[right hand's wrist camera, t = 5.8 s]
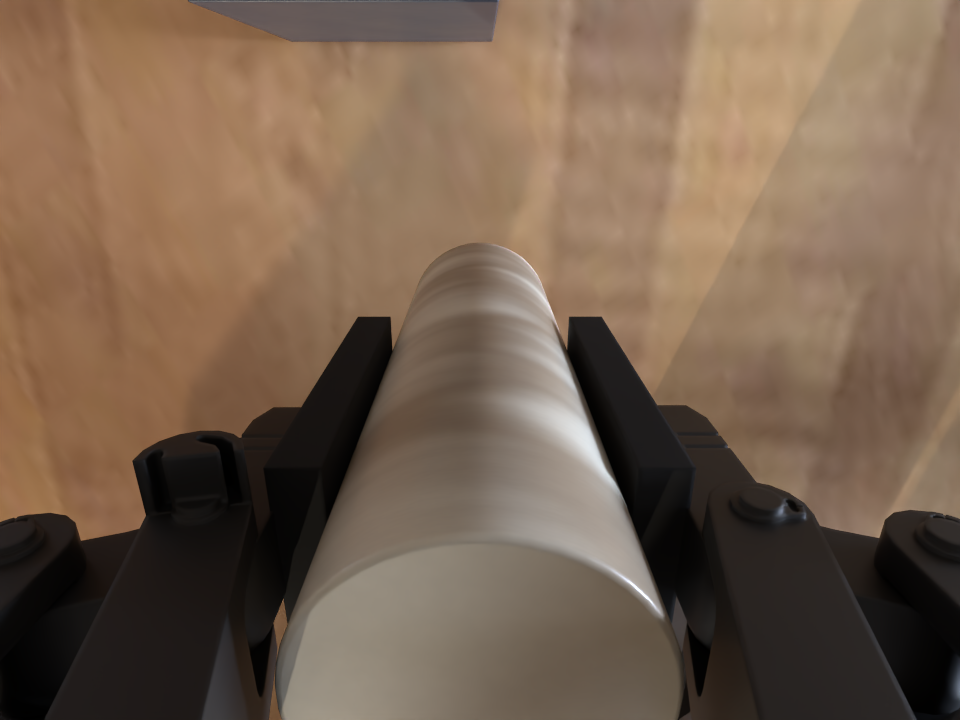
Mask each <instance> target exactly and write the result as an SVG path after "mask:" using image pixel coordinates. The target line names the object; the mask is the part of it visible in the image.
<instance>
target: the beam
mask: <svg viewBox="0 0 960 720" xmlns="http://www.w3.org/2000/svg"><path fill="white" fill-rule="evenodd" d="M188 1H189V2H191V3H193V4H196V5H198V6H201V7H204V8H206V9H209V10H211V11H214V12H217V13H219V14H222V15H224V16H227V17H230V18H232V19H235V20H237V21H240V22H243V23H245V24H248V25H250V26H253V27H256V28H258V29H261V30H263V31H266V32H268V33H271V34H274V35H276V36H279V37H281V38H284V39H287V40H289V41H292V42H491V41H492V40H493V34H494V28H495V21H496V15H497V9H498V3H499V0H188Z"/></svg>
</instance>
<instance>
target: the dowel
mask: <svg viewBox="0 0 960 720" xmlns="http://www.w3.org/2000/svg"><path fill="white" fill-rule="evenodd" d="M275 689H276V696H277V703H278V709H279V712H280V715H281V718H282V720H678V717H679V714H680V709H681V705H682V700H683V694H684V665H683V659H682V653H681V649H680V646H679V643H678V640H677V638H676V635H675V632H674V629H673V627H672V624H671V621H670V619H669V616H668V613H667V611H666V608H665V606H664V603H663V600H662V598H661V595H660V593H659V590H658V587H657V585H656V582H655V580H654V577H653V574H652V572H651V569H650V566H649V564H648V561H647V559H646V556H645V553H644V551H643V548H642V546H641V543H640V540H639V538H638V535H637V532H636V530H635V527H634V525H633V522H632V519H631V517H630V514H629V512H628V509H627V506H626V504H625V501H624V498H623V496H622V493H621V491H620V488H619V485H618V483H617V480H616V478H615V475H614V472H613V470H612V467H611V464H610V462H609V459H608V457H607V454H606V451H605V449H604V446H603V444H602V441H601V438H600V436H599V433H598V430H597V428H596V425H595V423H594V420H593V417H592V415H591V412H590V410H589V407H588V404H587V402H586V399H585V396H584V394H583V391H582V389H581V386H580V383H579V381H578V378H577V376H576V373H575V370H574V368H573V365H572V362H571V360H570V357H569V355H568V352H567V349H566V347H565V344H564V342H563V339H562V336H561V334H560V331H559V328H558V326H557V323H556V321H555V318H554V315H553V313H552V310H551V308H550V305H549V302H548V300H547V297H546V294H545V292H544V289H543V287H542V284H541V281H540V280H539V278H538V276H537V274H536V272H535V271H534V270H533V268H532V267H531V266H530V265H529V264H528V263H527V262H526V261H525V260H524V259H523V258H522V257H521V256H519V255H518V254H516V253H515V252H513V251H511V250H509V249H507V248H504V247H502V246H498V245H495V244H488V243H472V244H466V245H462V246H458V247H456V248H453V249H451V250H449V251H447V252H445V253H443V254H442V255H441V256H439V257H438V258H437V259H436V260H435V261H434V262H433V263H432V264H430V266H429V267H428V268H427V269H426V271H425V272H424V274H423V276H422V277H421V279H420V282H419V284H418V286H417V289H416V292H415V294H414V297H413V299H412V302H411V305H410V307H409V310H408V312H407V315H406V318H405V320H404V323H403V325H402V328H401V331H400V333H399V336H398V338H397V341H396V344H395V346H394V349H393V352H392V354H391V357H390V359H389V362H388V365H387V367H386V370H385V372H384V375H383V378H382V380H381V383H380V385H379V388H378V391H377V393H376V396H375V398H374V401H373V404H372V406H371V409H370V411H369V414H368V417H367V419H366V422H365V424H364V427H363V430H362V432H361V435H360V437H359V440H358V443H357V445H356V448H355V450H354V453H353V456H352V458H351V461H350V463H349V466H348V469H347V471H346V474H345V477H344V479H343V482H342V484H341V487H340V490H339V492H338V495H337V497H336V500H335V503H334V505H333V508H332V510H331V513H330V516H329V518H328V521H327V523H326V526H325V529H324V531H323V534H322V536H321V539H320V542H319V544H318V547H317V549H316V552H315V555H314V557H313V560H312V562H311V565H310V568H309V570H308V573H307V575H306V578H305V581H304V583H303V586H302V588H301V591H300V594H299V596H298V599H297V602H296V604H295V607H294V609H293V612H292V615H291V617H290V620H289V622H288V625H287V628H286V630H285V633H284V635H283V638H282V641H281V643H280V647H279V651H278V656H277V660H276V669H275Z"/></svg>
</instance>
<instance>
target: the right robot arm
mask: <svg viewBox="0 0 960 720" xmlns="http://www.w3.org/2000/svg"><path fill="white" fill-rule="evenodd" d="M567 352H568V355H569V357H570V360H571V362H572V365H573V368H574V370H575V373H576V376H577V378H578V381H579V383H580V386H581V389H582V391H583V394H584V396H585V399H586V402H587V404H588V407H589V410H590V412H591V415H592V417H593V420H594V423H595V425H596V428H597V430H598V433H599V436H600V438H601V441H602V444H603V446H604V449H605V451H606V454H607V457H608V459H609V462H610V464H611V467H612V470H613V472H614V475H615V478H616V480H617V483H618V485H619V488H620V491H621V493H622V496H623V498H624V501H625V504H626V506H627V509H628V512H629V514H630V517H631V519H632V522H633V525H634V527H635V530H636V532H637V535H638V538H639V540H640V543H641V546H642V548H643V551H644V553H645V556H646V559H647V561H648V564H649V566H650V569H651V572H652V574H653V577H654V580H655V582H656V585H657V587H658V590H659V593H660V595H661V598H662V600H663V603H664V606H665V608H666V611H667V613H668V616H669V619H670V621H671V624H672V627H673V629H674V632H675V635H676V638H677V640H678V643H679V646H680V649H681V653H682V659H683V665H684V694H683V700H682V705H681V709H680V714H679V717H678V720H960V519H958V518H955V517H952V516H949V515H946V516H945V515H943V514H941V513H936V512H925V511H914V510H908V511H902V512H896V513H893V514H892V515H891V516H889V517H888V518H887V519H886V520H885V522H884V525H883V528H882V532H881V535H880V538H875V537H870V536H865V535H859V534H854V533H849V532H844V531H839V530H834V529H830V528H826V527H822V526H819V524H818V522H817V520H816V518H815V516H814V514H813V513H812V512H811V511H810V510H809V508H808V507H807V506H806V505H805V503H803V502H802V501H800V500H799V499H797V498H796V497H794V496H793V495H791V494H790V493H788V492H785V491H783V490H780V489H778V488H775V487H773V486H770V485H765V484H761V483H756V481H755V480H754V479H753V478H752V476H751V475H750V474H749V472H748V471H747V470H746V468H745V467H744V466H743V465H742V463H741V462H740V461H739V459H738V458H737V457H736V455H735V454H734V453H733V452H732V450H731V449H730V448H728V447H727V446H728V445H727V444H726V442H725V441H724V440H723V439H722V437H721V436H718V432H717V431H716V429H715V428H714V427H713V426H712V424H711V423H710V422H709V420H708V419H707V418H706V417H704V416H703V415H701V414H699V413H698V412H696V411H694V410H693V409H691V408H689V407H688V406H686V405H657V404H656V403H655V401H654V400H653V398H652V396H651V395H650V393H649V392H648V390H647V388H646V387H645V385H644V384H643V382H642V381H641V379H640V377H639V376H638V374H637V373H636V371H635V369H634V368H633V366H632V365H631V363H630V361H629V360H628V358H627V357H626V355H625V353H624V352H623V350H622V349H621V347H620V345H619V344H618V342H617V341H616V339H615V337H614V336H613V334H612V333H611V331H610V330H609V328H608V326H607V325H606V323H605V322H604V320H603V318H602V317H569V329H568V346H567ZM391 354H392V335H391V318H390V317H358V318H357V319H356V321H355V323H354V324H353V326H352V327H351V329H350V331H349V332H348V334H347V335H346V337H345V338H344V340H343V342H342V343H341V345H340V346H339V348H338V350H337V351H336V353H335V354H334V356H333V358H332V359H331V361H330V362H329V364H328V366H327V367H326V369H325V370H324V372H323V374H322V375H321V377H320V378H319V380H318V381H317V383H316V385H315V386H314V388H313V389H312V391H311V393H310V394H309V396H308V397H307V399H306V401H305V402H304V404H303V405H302V407H274V408H272V409H270V410H269V411H267V412H266V413H264V414H262V415H261V416H259V417H257V418H256V419H254V420H253V421H252V422H251V424H250V425H249V426H248V428H247V429H246V430H245V431H244V433H243V434H242V438H238V437H237V436H236V435H234V434H231V433H227V432H222V431H197V432H191V433H185V434H179V435H177V436H174V437H171V438H168V439H165V440H162V441H159V442H157V443H155V444H154V445H152V446H150V447H148V448H146V449H145V450H143V451H142V452H141V453H140V454H139V455H138V456H137V457H136V458H135V459H134V460H133V465H134V469H135V473H136V477H137V481H138V485H139V489H140V493H141V497H142V501H143V505H144V509H145V513H146V517H145V519H144V521H143V523H142V525H141V527H140V529H137V530H133V531H129V532H125V533H120V534H114V535H109V536H104V537H99V538H94V539H89V540H84V541H81V540H80V536H79V533H78V530H77V527H76V523H75V522H74V521H73V520H71V519H70V518H69V517H68V516H66V515H60V514H54V513H44V514H34V515H24V516H19V517H17V518H11V519H8V520H5V521H2V522H0V720H269V713H270V705H271V697H272V689H273V681H274V673H275V664H276V656H277V643H276V636H275V630H274V624H273V622H274V620H275V617H276V615H277V613H278V610H279V608H280V605H281V603H282V600H283V598H284V604H285V610H286V616H287V623H288V622H289V620H290V617H291V615H292V612H293V609H294V607H295V604H296V602H297V599H298V596H299V594H300V591H301V588H302V586H303V583H304V581H305V578H306V575H307V573H308V570H309V568H310V565H311V562H312V560H313V557H314V555H315V552H316V549H317V547H318V544H319V542H320V539H321V536H322V534H323V531H324V529H325V526H326V523H327V521H328V518H329V516H330V513H331V510H332V508H333V505H334V503H335V500H336V497H337V495H338V492H339V490H340V487H341V484H342V482H343V479H344V477H345V474H346V471H347V469H348V466H349V463H350V461H351V458H352V456H353V453H354V450H355V448H356V445H357V443H358V440H359V437H360V435H361V432H362V430H363V427H364V424H365V422H366V419H367V417H368V414H369V411H370V409H371V406H372V404H373V401H374V398H375V396H376V393H377V391H378V388H379V385H380V383H381V380H382V378H383V375H384V372H385V370H386V367H387V365H388V362H389V359H390V357H391Z"/></svg>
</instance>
